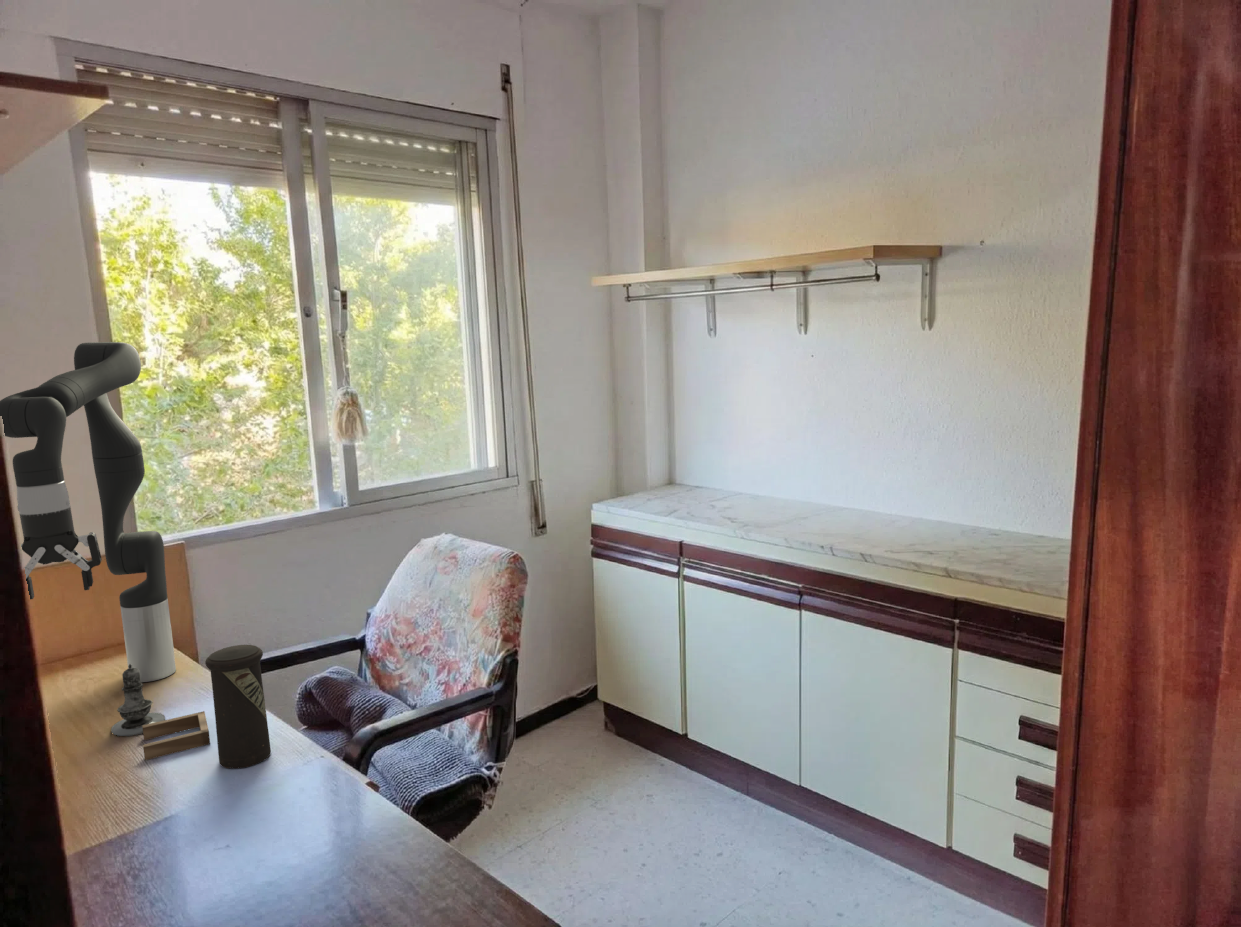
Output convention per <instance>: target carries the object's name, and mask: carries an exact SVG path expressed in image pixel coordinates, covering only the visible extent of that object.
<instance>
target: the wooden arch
mask: <svg viewBox="0 0 1241 927" xmlns="http://www.w3.org/2000/svg"><path fill="white" fill-rule="evenodd" d="M197 728H199V730H198V731H194V732H189V733H185V734H182V735H176V736H173V737H170V738H169V737H168V738H165V739H161V740H157V741H153V742H148V743H145V744H142V749H143V757H144V761H148V760H153V759H157V758H161V757H166V756H169V755H173V754H176V753H180V752H184V751H188V750H192V749H196V748H201V747H204V746H208V745H210V744H211V739H210V731H209V730H210V729H209V726H208V721H207V718H206V711H205V710H203V711H199V712H194V713H192V714H187V715H182V716H177V717H174V718H173V717H172V718H168V719H165V720H164V721H160V722H155V723H151V724H147V725H143V734H142V735H143V740H144V741H147V740H152V739H157V738H160V737H164V736H168V735H172V734H176V733H175V732H177V733H181V732H184V730H186V731H189V730H188V729H190V730H193V729H197ZM180 731H181V732H180ZM156 737H157V738H156Z"/></svg>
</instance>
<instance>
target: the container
mask: <svg viewBox="0 0 1241 927" xmlns="http://www.w3.org/2000/svg"><path fill="white" fill-rule="evenodd" d="M263 656H264V652H263V650H262V648H260V647H258V646H257V645H255V644H253V645H252V644H239V645H238V644H237V645H232V646H227V647H224V648H220V649H218V650H216V651H214V652H212V653H211V654H210V655H209V656H208V657H207V658H206V659H205V661H204V664H205V667H206V668H207V669H208V670H209V671H210V678H211V685H212V686H211V687H212V699H213V709H214V718H215V729H216V731H215V732H216V740H217V741H216V742H217V751H218V752H217V754H218V761H219V764H220V766H221V767H223V768H226V769H244V768H248V767H252V766H256V765H258V764H260V763H261V762H264V761H266V760H268V759H269V757H270V755H271V754H272V750H271V742H270V733H269V732H270V731H269V726H268V724H269V723H268V717H267V710H266V702H265V701H266V700H265V694H264V686H263V676H262V669H261V660H262V658H263Z"/></svg>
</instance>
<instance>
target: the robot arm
mask: <svg viewBox="0 0 1241 927" xmlns="http://www.w3.org/2000/svg"><path fill="white" fill-rule="evenodd" d="M73 365H74V370H73V369H72V370H70V371H67V372H63V373H60V374H58V375H55V376H54V377H51V378H50V379H48V380H47V381H44V382H43V383H42V384H40V385H39V386H37V387H34V388H31V389H27V390H22V391H20V392H17V393H14V394H10V395H8V396H6V397H4V398H2V399H0V416H2V419H3V424H4V433H5V436H4V437H7V438H12V439H13V438H14V439H16V438H17V439H18V438H19V439H20V438H37V439H36V444H35V447H34V448H33V449H27V450H25V451H21V452H18V453H16V454H14V456H13V457H12V468H13V472H14V479H15V485H16V501H17V503H16V504H17V507H16V508H17V510H18V513H19V518H20V524H21V530H22V534H23V541H22V542H23V543H20V544H21V547H22V550H21V551H23V552H24V553H25V554H26V555H28V557H30V559H29V561H28V562H27V563H26V565H25V566H24V568H25V574H26V581H27V584H28V591H29V595H30V600H34V598H35V592H34V586H33V580H32V577H31V576H30V574H31V573H32V571H33V570H34V568H35V567H36V565H37V564H42V565H49V564H51V563H64V562H65V561H67V560H68V561H69V562H70V563H72V564H73V565H76V566H77V567H78V568H80V570H81V572H80V573H81V578H82V584H83V585H82V586H83V591H89V590H90V589H91V587H92V586H93V584H94V577H93V572H92V571H93V570H92V569H93V568H95V567H97V566H98V567H99V566H100V565H101V563H102V561H103V560H102V555H101V550H100V546H99V543H98V538H97V534H96V533H95V532H93V531H92V532H89V533H88V534H83V535H78V534H76V532H75V527H74V520H73V519H74V518H73V516H72V515H73V514H72V508H71V502H70V495H69V491H68V488H67V485H66V481H65V476H64V470H63V464H62V452H63V442H64V437H65V432H66V425H67V417H69V416H71V415H72V414H74V413H75V412H76V411H79V409H81V408H82V407H83V408H84V412H85V417H86V421H87V425H88V426H87V428H88V433H89V439H90V440H89V441H90V446H91V448H90V449H91V456H92V463H93V468H94V469H93V470H94V474H95V478H96V485H97V490H98V495H99V501H100V508H101V518H102V520H101V521H102V528H103V529H102V531H103V544H104V545H103V546H104V556H105V562H106V566H107V568H108V569H107V570H108V571H109V572H110V573H111V574H112V575H114V576H123V575H135V574H144V573H146V577H145V579H144V580H143V581H142V582H140V583H137V584H136V585H133V586H131V587H129V588H126V589H125V590H123V591H122V592H121V593H120V594H119V598H118V599H119V605H120V606H119V607H120V615H121V621H122V629H123V638H124V647H125V653H126V661H127V664H126V665H127V669H128V668H129V667H128V666H129V664H131V665H132V668H137V669H138V670H139V671H140V679H141V683H147V682H153V681H159V680H161V679H164V678H167V677H169V676H171V675H173V674H174V673H175V672H176V671H177V669H176V658H175V650H174V649H175V648H174V641H173V640H174V639H173V632H172V625H171V615H170V606H169V600H168V598H169V597H168V588H167V587H168V586H167V585H168V584H167V576H166V574H167V573H166V563H165V562H166V559H165V557H166V556H165V545H164V544H165V543H164V539H163V537H162V535H161V534H160V533H159V531H156V530H146V531H135V532H134V531H133V532H124V521H125V520H124V519H125V515H126V512H127V510H128V507H129V505H130V504H131V502H132V500H133V498H134V496H135V495H136V493H137V491H138V490H139V488H140V486H141V483H142V482H143V480H144V477H145V474H146V473H145V472H146V471H145V463H144V462H145V461H144V456H143V450H142V448H143V447H142V445H141V443H140V442H141V441H140V440H139V439H138V437H137V436H136V434H135V433H134V432H133V431H132V430H131V428H129V426H128V425H127V424H126V423H125V422H124V421H123V420H122V419H121V418H120V417H119V415H118V414H117V413H116V411H115V410H114V408H113V407H112V405H111V403H110V400H109V397H108V396H109V395H108V393H109V392H112V391H114V390H117V389H119V388H122V387H125V386H128V385H131V384H133V383H135V382H136V381H137V379H138V378H139V377H140V375H141V370H142V363H141V357H140V353H138V350H137V349H136V348H135V347H134V346H133V345H132V344H130V343H127V342H123V341H122V342H121V341H100V342H99V341H98V342H97V341H96V342H91V341H90V342H82V343H79V344H77V346H76V348H75V349H74V354H73ZM79 543H82V544H83V546H84V547H87V548H88V549H89V553H90V557H91V559H89V560H87V559H86V558H85V557H83V555H82V554H81V553H80V552H79V551H77V550H76V548H77V546H78V545H79Z"/></svg>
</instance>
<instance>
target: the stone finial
mask: <svg viewBox="0 0 1241 927" xmlns="http://www.w3.org/2000/svg"><path fill="white" fill-rule="evenodd" d="M128 667H129V668H128ZM121 676H122V683H123V684H122V685H123V687H122V688H121V691H123V694H124V695H123V696H124V702H123V704H121V705H120V706H119V707H117V710H116V711H117V712H118V713H119V715H120V716H121V719H122V720H123V719H125V720H127V721H125V722H124V723H123V724H122V725H121V727H122V728H123V729H135V728H139V727H143V725H147V724H149V723H151V722H152V720H153V719H152V717H149V716H146V715H147V714H148V713H151V709H152V705H153V700H152V699H146V698H145V696H144V694H143V687H144V683H143V682H141V679H140V671H139V670H138V669H137V668H132V665H131V664H129V666H128V665H127V669H125V670H123V672H122V674H121Z"/></svg>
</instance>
